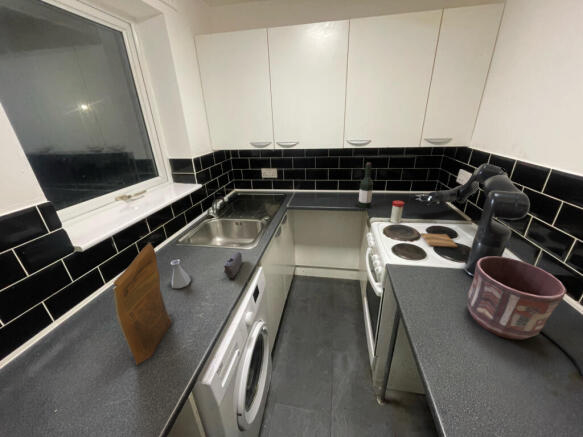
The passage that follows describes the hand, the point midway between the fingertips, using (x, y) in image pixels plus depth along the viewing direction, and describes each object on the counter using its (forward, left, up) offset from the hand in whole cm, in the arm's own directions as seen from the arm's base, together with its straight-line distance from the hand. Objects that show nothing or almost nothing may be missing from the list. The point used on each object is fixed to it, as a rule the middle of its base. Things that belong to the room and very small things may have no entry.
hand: (415, 200), depth 133 cm
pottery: (-77, -2, -12) cm, 77 cm away
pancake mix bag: (-96, +98, -12) cm, 138 cm away
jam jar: (-5, +10, -12) cm, 16 cm away
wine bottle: (+18, +25, -12) cm, 33 cm away
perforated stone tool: (-61, +88, -12) cm, 108 cm away
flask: (-71, +106, -12) cm, 129 cm away
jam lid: (-5, +10, 0) cm, 11 cm away
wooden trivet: (-27, -5, -12) cm, 29 cm away
